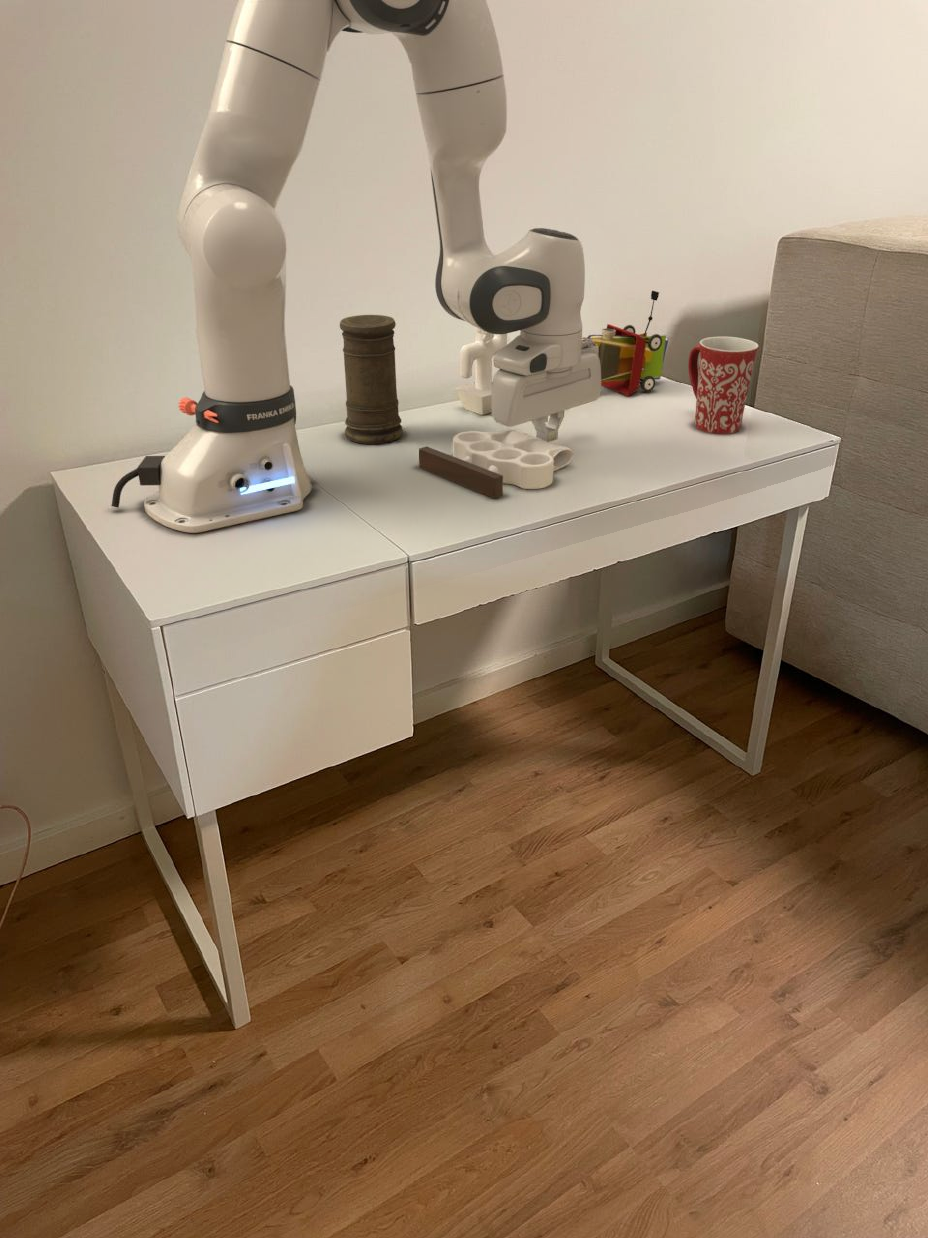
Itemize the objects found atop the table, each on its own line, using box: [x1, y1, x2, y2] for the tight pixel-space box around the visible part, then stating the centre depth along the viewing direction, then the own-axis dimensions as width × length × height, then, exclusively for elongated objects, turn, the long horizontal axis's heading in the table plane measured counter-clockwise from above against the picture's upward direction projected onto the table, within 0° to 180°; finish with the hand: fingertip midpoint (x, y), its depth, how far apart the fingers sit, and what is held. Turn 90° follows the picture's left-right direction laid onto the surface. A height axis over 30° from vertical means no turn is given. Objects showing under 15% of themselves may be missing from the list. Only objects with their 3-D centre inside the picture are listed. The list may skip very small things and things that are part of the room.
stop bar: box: [418, 445, 504, 500], centre depth 136 cm, size 2×16×3 cm, turn 42°
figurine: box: [453, 326, 508, 416], centre depth 162 cm, size 7×9×15 cm
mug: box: [687, 336, 760, 435], centre depth 155 cm, size 13×9×14 cm
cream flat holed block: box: [452, 428, 574, 490], centre depth 141 cm, size 3×18×15 cm
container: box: [339, 314, 404, 445], centre depth 150 cm, size 9×9×18 cm
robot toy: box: [582, 290, 669, 397], centre depth 172 cm, size 17×9×20 cm
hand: (547, 441), depth 147 cm, fingers closed
